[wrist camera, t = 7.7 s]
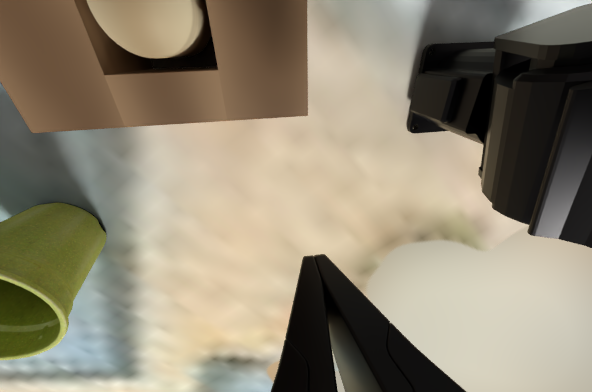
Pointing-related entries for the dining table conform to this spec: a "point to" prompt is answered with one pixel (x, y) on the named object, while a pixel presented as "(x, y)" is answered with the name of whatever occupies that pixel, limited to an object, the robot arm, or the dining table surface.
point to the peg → (155, 26)
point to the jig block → (151, 68)
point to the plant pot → (43, 274)
